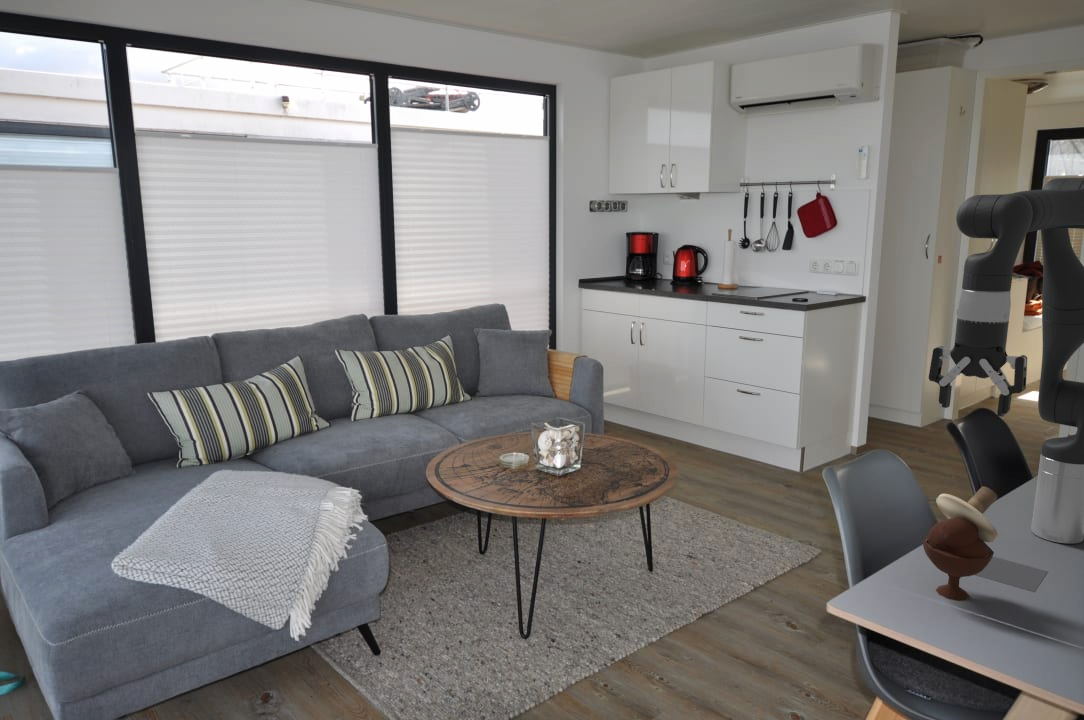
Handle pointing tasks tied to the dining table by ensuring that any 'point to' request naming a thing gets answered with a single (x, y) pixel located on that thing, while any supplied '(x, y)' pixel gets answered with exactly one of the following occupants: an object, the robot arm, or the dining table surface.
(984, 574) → the mat
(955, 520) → the ice cream bowl
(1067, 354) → the robot arm
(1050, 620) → the dining table surface
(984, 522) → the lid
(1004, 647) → the dining table surface
